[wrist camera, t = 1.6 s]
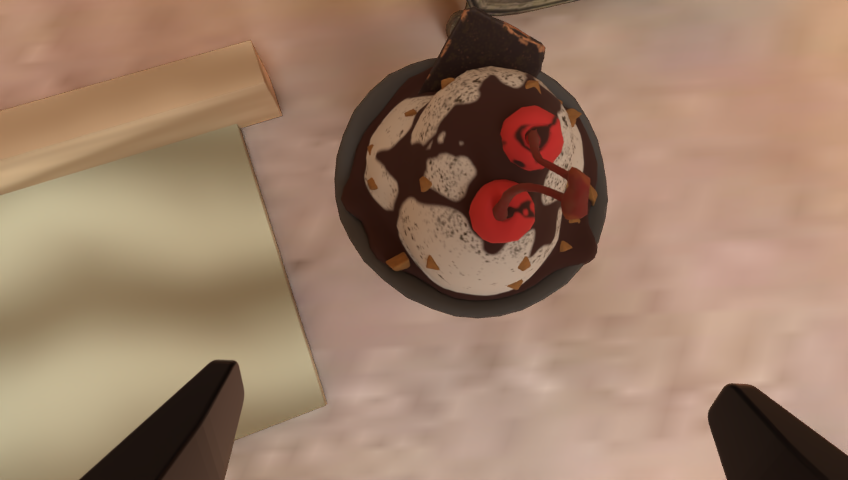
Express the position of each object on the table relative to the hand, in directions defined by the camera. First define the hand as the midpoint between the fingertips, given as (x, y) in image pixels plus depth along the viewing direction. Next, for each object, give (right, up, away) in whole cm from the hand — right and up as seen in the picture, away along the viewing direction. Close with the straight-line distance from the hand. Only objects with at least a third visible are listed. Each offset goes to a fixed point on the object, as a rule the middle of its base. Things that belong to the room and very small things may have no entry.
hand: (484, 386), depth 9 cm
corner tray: (-14, +1, +11) cm, 18 cm away
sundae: (0, +2, +13) cm, 13 cm away
